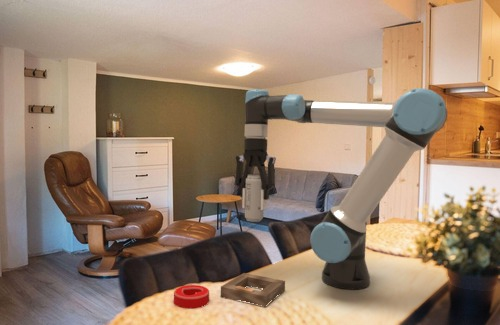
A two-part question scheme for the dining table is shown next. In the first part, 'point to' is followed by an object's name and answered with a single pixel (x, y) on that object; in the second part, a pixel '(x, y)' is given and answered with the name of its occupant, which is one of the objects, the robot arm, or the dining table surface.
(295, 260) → the dining table surface
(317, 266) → the dining table surface
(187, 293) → the decorative ornament
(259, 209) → the energy drink can
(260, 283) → the frame
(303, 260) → the dining table surface
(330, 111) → the robot arm
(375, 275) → the dining table surface
